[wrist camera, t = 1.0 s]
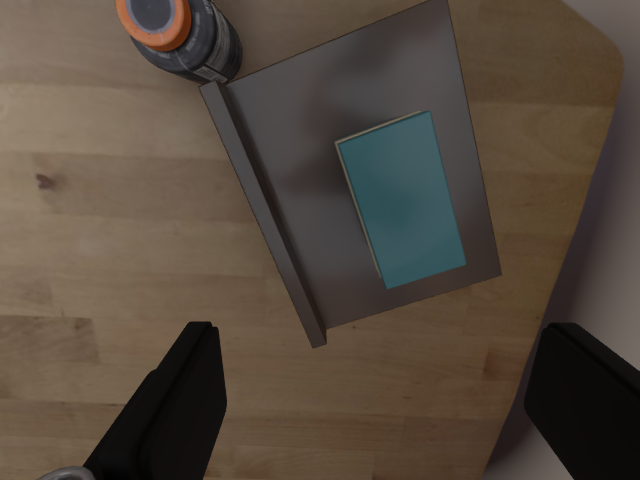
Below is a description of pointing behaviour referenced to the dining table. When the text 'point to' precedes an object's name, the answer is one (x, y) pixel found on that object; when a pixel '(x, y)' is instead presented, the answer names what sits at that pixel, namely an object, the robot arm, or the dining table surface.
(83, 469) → the robot arm
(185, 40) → the pill bottle
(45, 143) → the dining table surface
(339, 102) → the shelf
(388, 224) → the block
